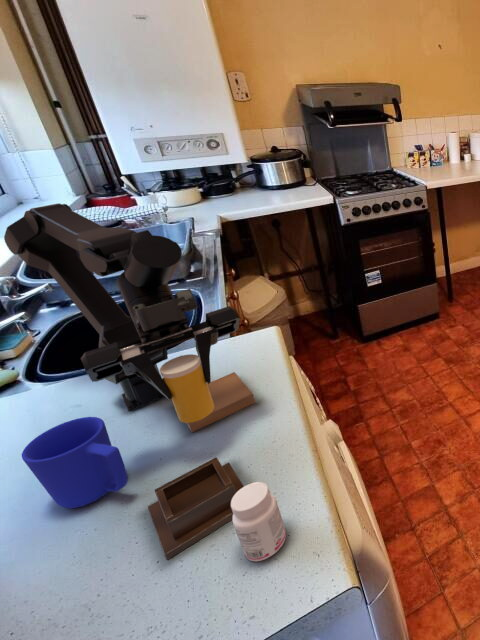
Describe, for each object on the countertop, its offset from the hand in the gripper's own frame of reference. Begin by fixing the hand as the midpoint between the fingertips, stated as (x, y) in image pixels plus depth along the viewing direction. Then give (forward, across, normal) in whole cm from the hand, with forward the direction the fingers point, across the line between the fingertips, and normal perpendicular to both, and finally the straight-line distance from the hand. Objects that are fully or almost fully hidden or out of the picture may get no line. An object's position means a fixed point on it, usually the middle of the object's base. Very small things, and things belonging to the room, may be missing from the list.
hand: (190, 390), depth 65 cm
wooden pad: (0, +4, +18) cm, 18 cm away
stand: (+16, -4, +2) cm, 16 cm away
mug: (+6, -13, +12) cm, 19 cm away
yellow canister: (+2, 0, +4) cm, 5 cm away
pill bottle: (+24, 0, -7) cm, 25 cm away
